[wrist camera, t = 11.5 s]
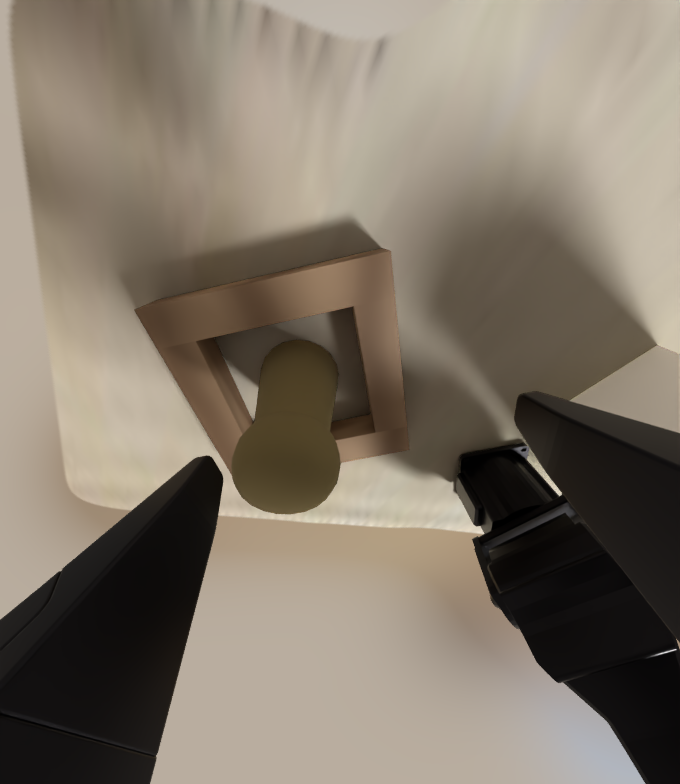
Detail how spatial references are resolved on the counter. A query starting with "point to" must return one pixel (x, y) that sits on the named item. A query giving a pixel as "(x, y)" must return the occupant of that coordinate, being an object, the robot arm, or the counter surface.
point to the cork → (290, 432)
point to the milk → (641, 390)
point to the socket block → (279, 304)
